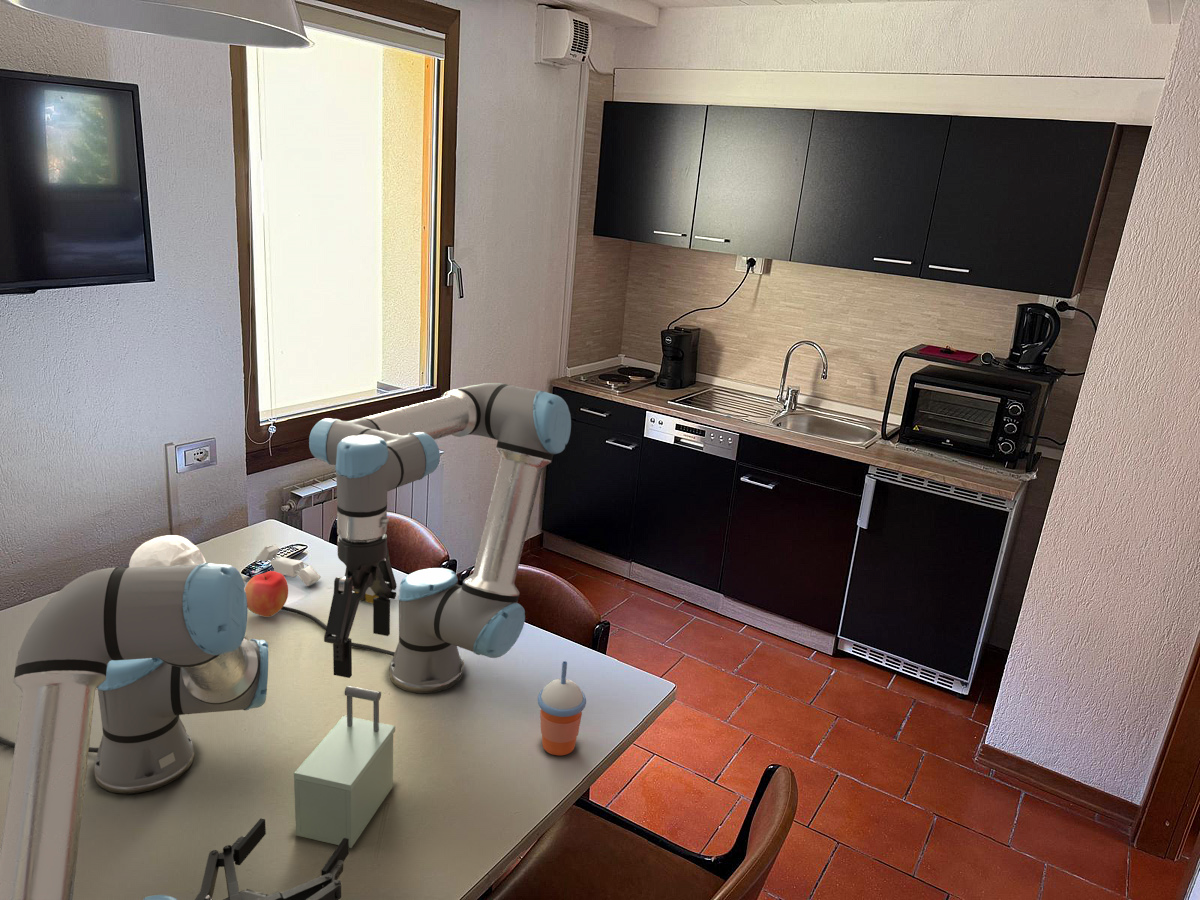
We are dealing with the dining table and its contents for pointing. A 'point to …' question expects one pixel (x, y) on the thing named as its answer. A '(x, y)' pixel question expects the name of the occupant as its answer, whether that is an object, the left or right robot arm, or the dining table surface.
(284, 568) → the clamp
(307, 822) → the chest
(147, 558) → the skull
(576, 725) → the cup with straw
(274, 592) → the apple
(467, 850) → the dining table surface
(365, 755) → the lid
